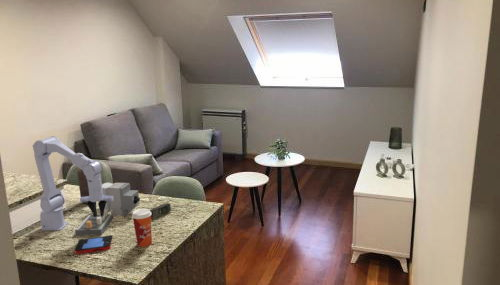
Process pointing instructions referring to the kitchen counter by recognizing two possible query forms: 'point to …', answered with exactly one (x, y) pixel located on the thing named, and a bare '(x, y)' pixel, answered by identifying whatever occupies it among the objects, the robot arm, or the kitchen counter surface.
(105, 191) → the supplement box
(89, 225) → the block
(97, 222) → the breaker panel
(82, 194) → the candle
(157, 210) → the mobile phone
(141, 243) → the coffee cup
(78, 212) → the kitchen counter surface
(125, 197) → the circuit breaker
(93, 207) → the robot arm
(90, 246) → the game console
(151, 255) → the kitchen counter surface
